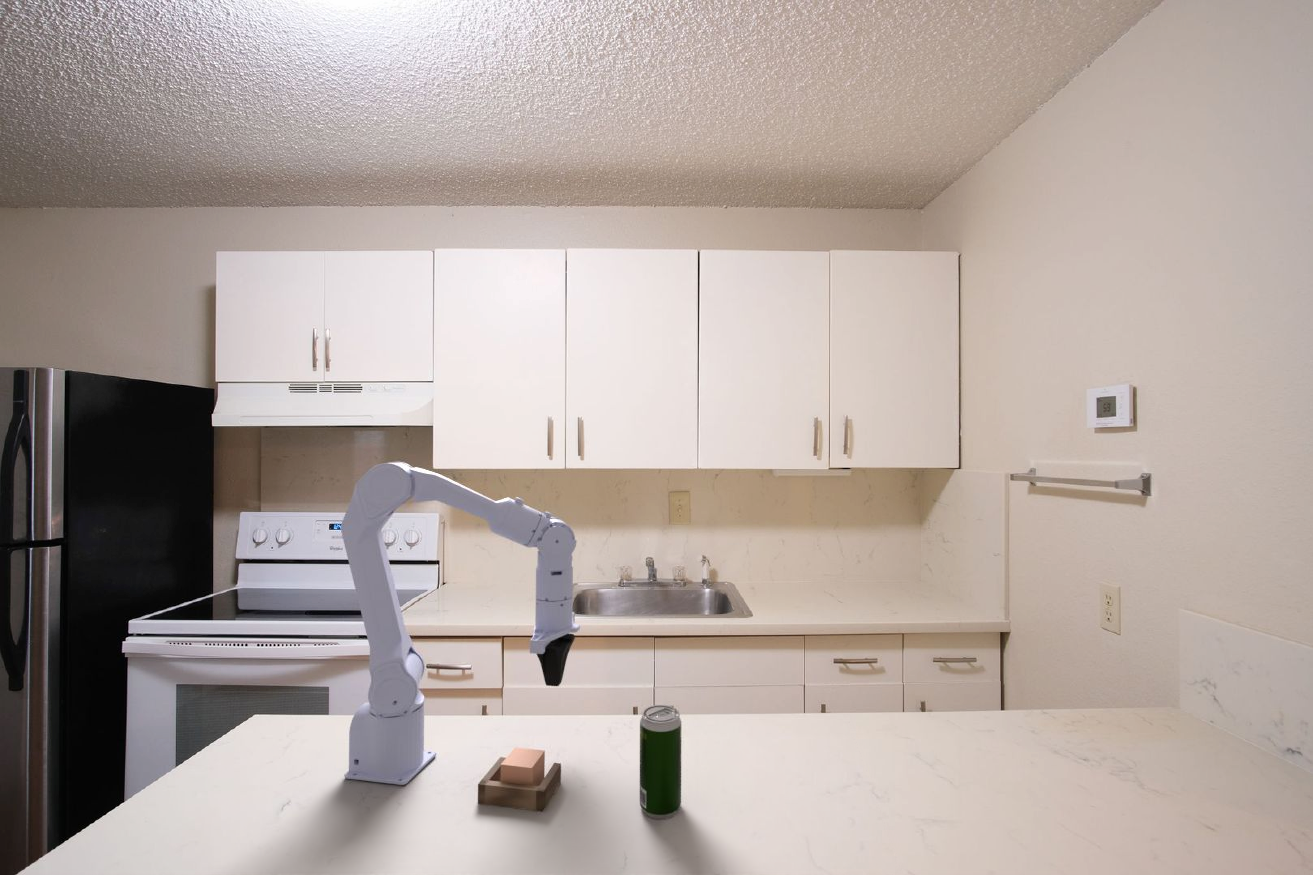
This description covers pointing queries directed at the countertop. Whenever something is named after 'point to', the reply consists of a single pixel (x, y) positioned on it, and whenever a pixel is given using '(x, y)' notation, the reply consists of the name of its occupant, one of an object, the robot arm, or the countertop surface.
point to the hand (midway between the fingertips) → (553, 684)
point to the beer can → (660, 761)
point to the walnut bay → (517, 790)
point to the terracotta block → (524, 767)
